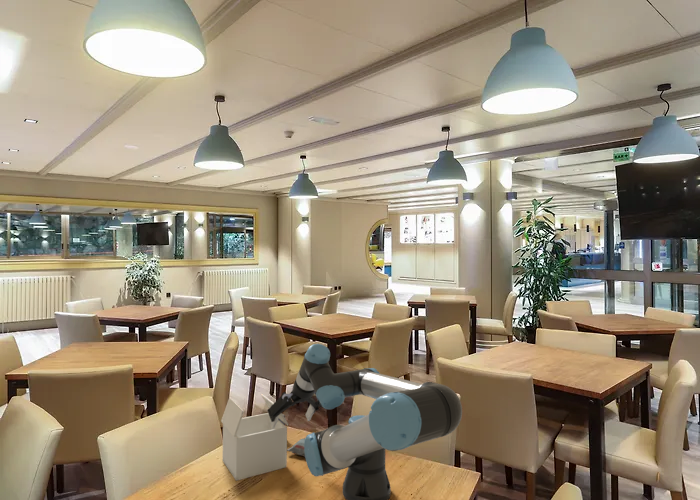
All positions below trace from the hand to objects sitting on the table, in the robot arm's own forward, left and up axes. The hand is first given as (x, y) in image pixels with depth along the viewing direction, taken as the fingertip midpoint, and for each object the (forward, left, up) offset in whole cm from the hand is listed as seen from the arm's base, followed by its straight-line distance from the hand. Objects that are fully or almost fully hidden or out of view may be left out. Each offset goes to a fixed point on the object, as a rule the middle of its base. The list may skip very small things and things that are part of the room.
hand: (290, 421), depth 155 cm
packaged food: (+4, -8, -16) cm, 18 cm away
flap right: (+7, +3, +3) cm, 8 cm away
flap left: (+7, +18, +3) cm, 20 cm away
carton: (+7, +11, -15) cm, 20 cm away
